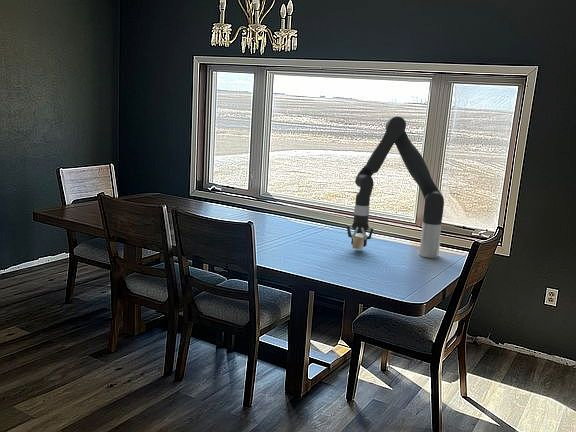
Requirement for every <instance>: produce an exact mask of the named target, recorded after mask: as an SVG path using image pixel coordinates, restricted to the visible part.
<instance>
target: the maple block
mask: <svg viewBox="0 0 576 432" xmlns="http://www.w3.org/2000/svg"><path fill="white" fill-rule="evenodd" d="M363 246H364V236H363V234H361V233H356V235H355V237H354V238H353V246H351V247H352V249H355V250H363V249H364V247H363Z"/></svg>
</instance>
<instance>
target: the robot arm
mask: <svg viewBox="0 0 576 432" xmlns="http://www.w3.org/2000/svg"><path fill="white" fill-rule="evenodd" d="M384 127H385V132H384V134H383V137H382V139H381V140H380V142H379V143H378V144H377V146H376V147H375V149H374V150H373V152H372V153H371V155H370V157H369V158H368V160H367V162H366V163H365V164H364V166H363V167H362V169H360V171H359V172H358V173H357V175H356V178H355V184H356V186H357V187H358V188H359V191H358V193H357V194H356V196H355V202H354V204H355V205H354V209H353V219H352V220H353V221H352V224H347V226H346V230H347V236H348V238H351V245H352V246H353V238H354V237H355V235H356V233H357V234H363V236H364V246H363V248H365V247H367V245H368V244H367V243H368V242H367V241H368V240H371V238H372V235H373V232H374V230H375V228H374V227H371V226H369V217H370V201H371V200H370V199H371V195H372V192H373V189H374V179H373V177H372V176H373V175H374V174H376V173H379V170H380V169H381V167H382V165H383V164H384V163H385V160H386V158H387V157H388V154H389V153H390V150H392V148H393V146H394V145H395V147H396V148H397V150H398V153H399V156H400V157H401V159H402V161H403V164H404V165H405V168H406V169H407V172H409V174H410V176H411V178H412V179H413V180H414V181H415V183H416V184H417V185H418V188H419V189H420V191H421V194H422V196H423V199H424V207H423V215H422V216H423V217H422V226H421V236H420V245H419V256H421V257H422V258H423V257H424V258H426V259H427V258H429V259H438V257H439V255H440V248H441V230H442V221H443V218H444V217H443V214H444V206H445V198H444V196H443V194H442V192H441V191H440V190H439V188H438V187H437V186H436V183H435V182H434V180H433V178H432V176H431V173H430V171H429V168H428V166H427V163H426V161H425V159H424V157H423V156H422V154H421V152H420V150H418V148H416V146H415V145H414V144H413V143H412V141H411V139H409V136H408V134H407V132H406V127H407V122H406V120H405V119H404V118H403V117H402V116H399V115H398V116H397V115H396V116H393V117H391V118H389V119H388V120H387V121H386V122H385V126H384ZM352 229H353V231H354V232H353V233H352ZM367 231H369V235H367ZM352 246H351V247H352Z"/></svg>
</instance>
